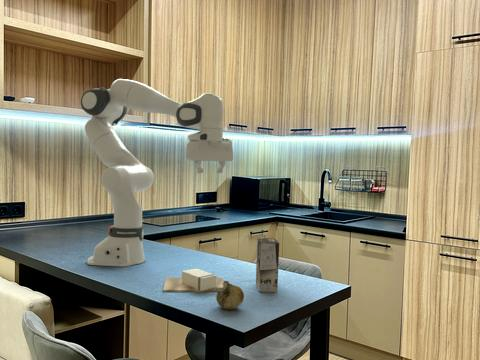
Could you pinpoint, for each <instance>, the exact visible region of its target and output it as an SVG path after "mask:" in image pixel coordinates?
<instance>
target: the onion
mask: <svg viewBox="0 0 480 360" xmlns="http://www.w3.org/2000/svg"><path fill="white" fill-rule="evenodd" d="M222 284H223V287H216V291H218V292H217V293H216V297H215V299H216V303H217V304H218V305H219V307H220V308H222V309H224V310H234V309H235V310H236V309H237V308H238V307H240V305H241V304H242V303H243V301H244V298H245V294H244V291H243V289H242V288H241V287H240V286H237V285H235V284H232V283H230V281H228V280H224V283H222Z"/></svg>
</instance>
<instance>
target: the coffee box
mask: <svg viewBox="0 0 480 360" xmlns="http://www.w3.org/2000/svg"><path fill="white" fill-rule="evenodd" d="M279 257H280V242H279V241H278V240H277V239H276V238H274V237H271V238H270V237H269V238H268V237H267V238H265V237H264V238H256V261H255V262H256V263H255V265H256V267H255V271H256V272H255V285H256V287H257V290H258V292H264V293H265V292H268V293H269V292H270V293H271V292H273V293H276V292H277V293H278V286H279V284H278V283H279V260H280V258H279Z"/></svg>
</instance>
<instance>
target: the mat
mask: <svg viewBox="0 0 480 360" xmlns="http://www.w3.org/2000/svg"><path fill="white" fill-rule="evenodd" d="M224 281H225V280H224V277H216V287H223V284H222V283H224ZM162 292H163V293H169V292H170V293H176V292H178V293H181V292H184V293H185V292H186V293H191V292H192V293H194V292H195V293H196V292H197V293H198V292H200V293H201V292H204V293H205V292H206V293H208V292H217V293H218V291H216V288H212V289H207V290H203V291H201V290H198V289H196V288H193V287H191V286H189V285H186V284H184V283H182V277H165V280H164V284H163V288H162Z"/></svg>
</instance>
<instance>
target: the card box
mask: <svg viewBox="0 0 480 360" xmlns="http://www.w3.org/2000/svg"><path fill="white" fill-rule="evenodd" d="M181 278H182V283H184V284H186V285H189V286H191V287H193V288H196V289H198V290H201V291H203V290H207V289H212V288H216V278H217V274H214V273H212V272H207V271H205V270H202V269H199V268H196V267H195V268H193V269H187V270H186V269H185V270H182V271H181Z"/></svg>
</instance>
